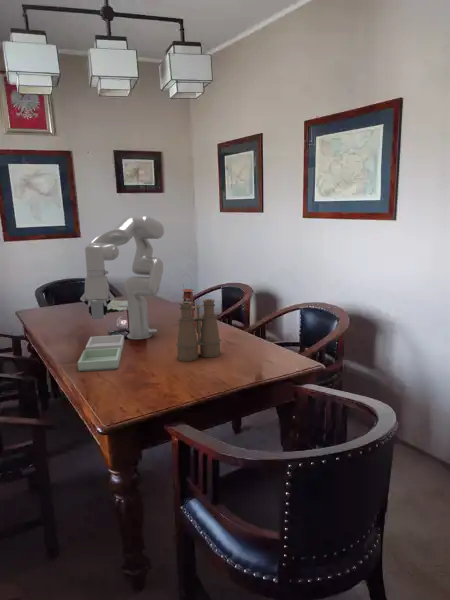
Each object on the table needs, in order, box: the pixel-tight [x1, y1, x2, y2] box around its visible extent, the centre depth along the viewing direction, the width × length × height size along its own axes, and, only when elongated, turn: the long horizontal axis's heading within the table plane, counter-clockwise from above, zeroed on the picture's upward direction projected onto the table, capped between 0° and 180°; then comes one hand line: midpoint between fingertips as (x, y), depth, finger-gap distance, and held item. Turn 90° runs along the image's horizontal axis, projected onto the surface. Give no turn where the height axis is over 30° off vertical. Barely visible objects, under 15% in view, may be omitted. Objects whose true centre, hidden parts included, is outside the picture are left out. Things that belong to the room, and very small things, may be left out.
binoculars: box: [175, 298, 222, 362], centre depth 196 cm, size 21×10×25 cm, turn 113°
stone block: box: [91, 300, 106, 320], centre depth 194 cm, size 5×5×7 cm
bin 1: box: [85, 334, 125, 353], centre depth 210 cm, size 16×16×4 cm
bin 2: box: [77, 348, 122, 373], centre depth 191 cm, size 16×16×4 cm
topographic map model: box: [87, 298, 128, 314], centre depth 296 cm, size 36×29×5 cm
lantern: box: [181, 273, 197, 328], centre depth 244 cm, size 10×10×30 cm
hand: (98, 314), depth 194 cm, fingers closed on stone block, 5 cm apart
